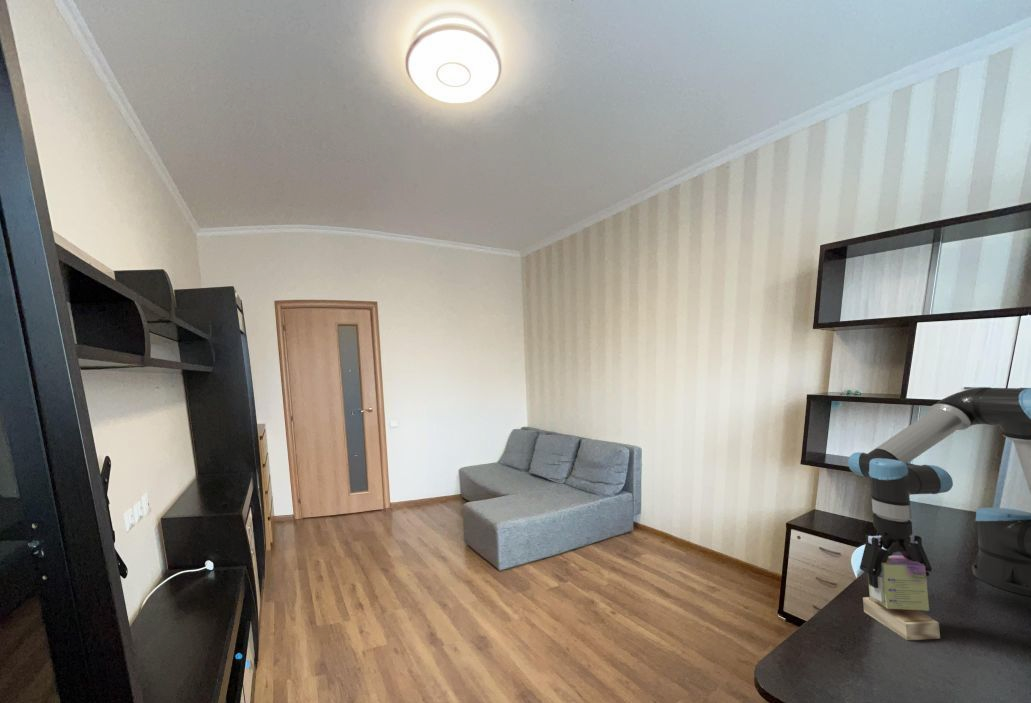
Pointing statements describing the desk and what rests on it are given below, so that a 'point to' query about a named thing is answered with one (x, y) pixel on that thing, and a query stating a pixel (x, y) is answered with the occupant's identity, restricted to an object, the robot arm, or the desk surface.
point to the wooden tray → (903, 621)
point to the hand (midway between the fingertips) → (897, 597)
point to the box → (903, 584)
